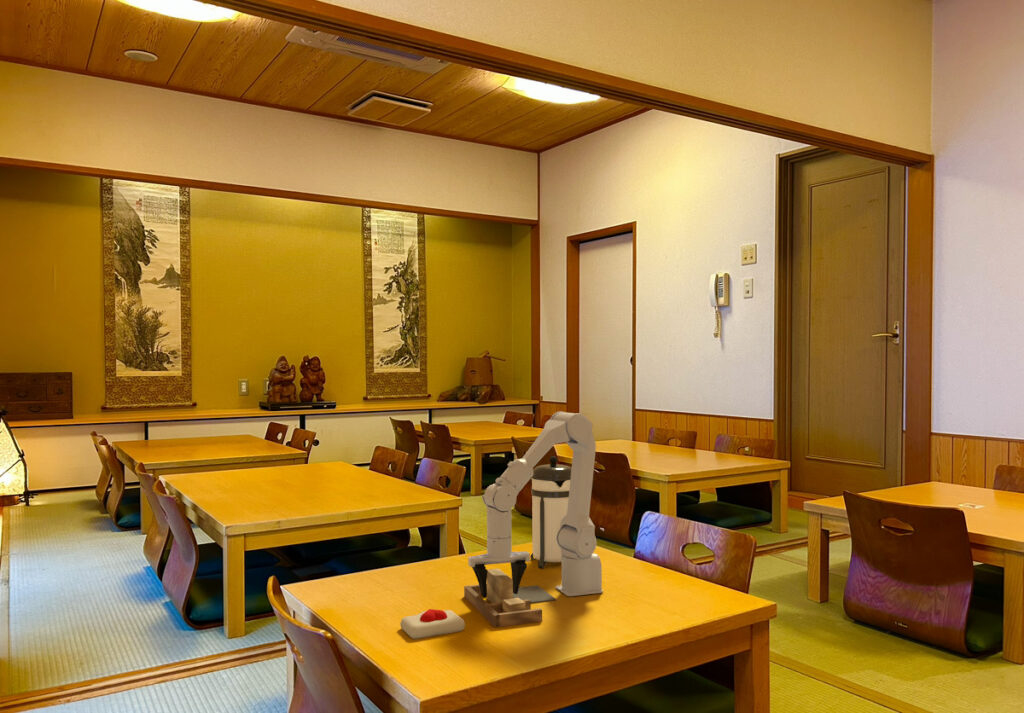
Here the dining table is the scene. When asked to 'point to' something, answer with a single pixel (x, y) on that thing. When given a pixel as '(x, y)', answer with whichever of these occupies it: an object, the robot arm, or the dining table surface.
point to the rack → (501, 610)
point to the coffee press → (548, 509)
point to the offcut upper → (513, 605)
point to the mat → (533, 594)
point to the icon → (432, 623)
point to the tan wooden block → (498, 586)
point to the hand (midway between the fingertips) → (499, 594)
